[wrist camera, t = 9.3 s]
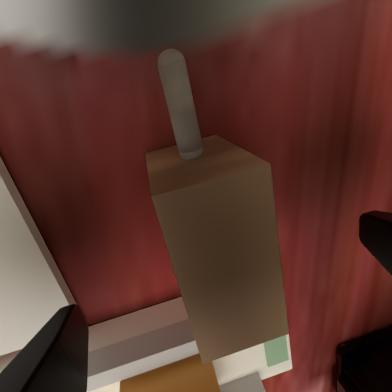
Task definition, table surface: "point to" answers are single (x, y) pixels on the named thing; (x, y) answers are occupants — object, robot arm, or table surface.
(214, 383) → the orange cube
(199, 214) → the joystick
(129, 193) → the table surface
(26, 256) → the tool mat
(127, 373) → the switch panel
